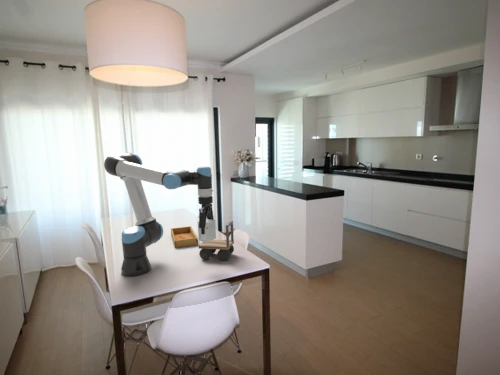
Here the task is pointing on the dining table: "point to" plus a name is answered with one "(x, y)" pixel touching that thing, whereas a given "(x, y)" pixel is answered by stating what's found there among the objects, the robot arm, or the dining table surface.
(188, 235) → the tray
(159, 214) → the dining table surface
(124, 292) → the dining table surface
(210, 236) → the small box
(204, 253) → the trolley
